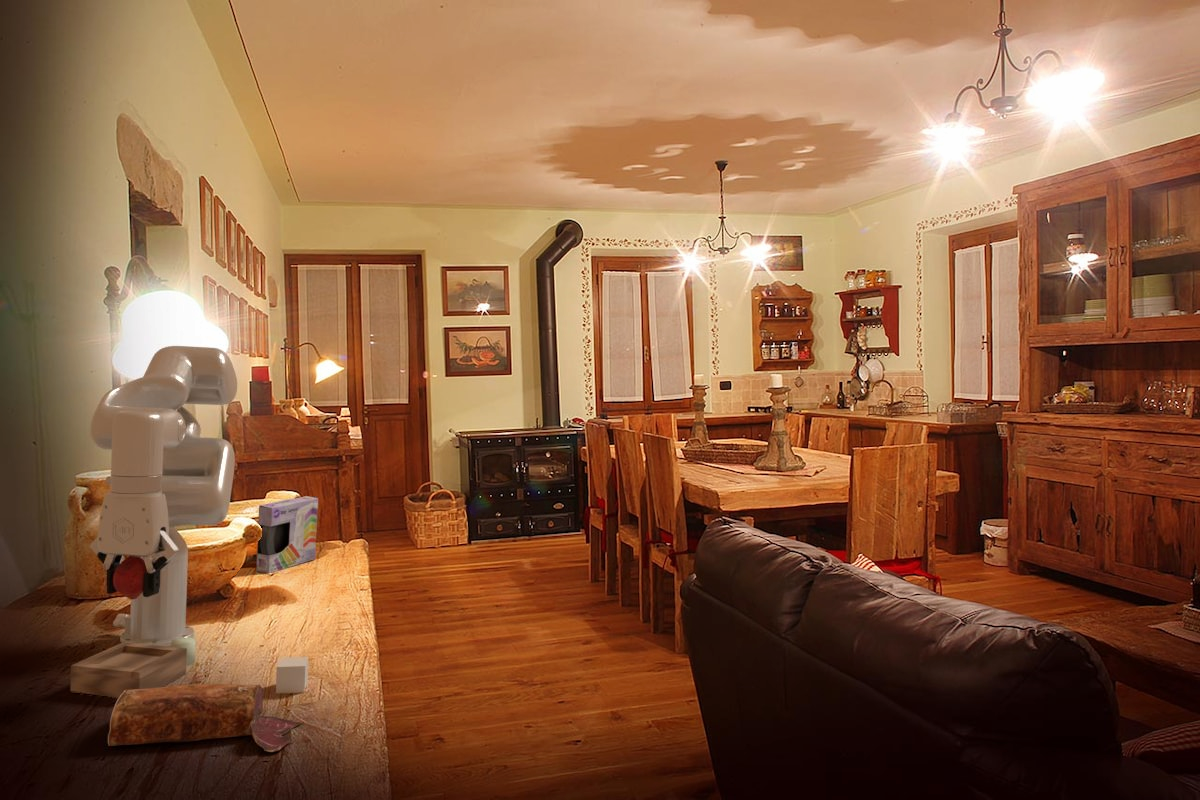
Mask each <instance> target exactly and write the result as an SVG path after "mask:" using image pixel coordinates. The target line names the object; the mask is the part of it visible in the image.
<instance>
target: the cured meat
mask: <svg viewBox="0 0 1200 800" xmlns="http://www.w3.org/2000/svg"><path fill="white" fill-rule="evenodd" d="M263 693H264V692H263V688H262V686H261V684H237V683H234V684H233V683H209V684H185V685H171V686H170V685H169V686H164V687H160V688H149V689H135V690H124V692H123V693H122V694H121V695H120V697H119V698H117V700H116V702H115V704H114V706H113V710H112V712H111V716H110V720H109V731H108V734H107V744H108V746H109V747H115V746H117V747H118V746H127V745H129V746H131V745H144V744H155V743H158V744H159V743H186V742H197V741H202V740H212V739H220V738H221V739H225V738H233V737H242V736H243V737H245V736H252V738H253V739H254V741H255V743H256V745H258V746H259V747H261V748H262V749H263V751H264V752H269V753H274V752H275V753H276V752H278V751H280V750H281V749H282V748H284V747H286V746H287V745H288V744H289V743H290V742H291V740H292V737H291V736H286V735H285V734H287V733H288V732H290V731H291V730H292V729H293V728H295V727H298V726H300V725H301V724H303V721H300V720H299V721H298V720H296V721H294V720H291V719H286V718H285V719H283V718H280V717H275V716H265V715H259V714H261V713H262V711H263V707H264V706H263V705H264V694H263ZM284 735H285V736H284Z"/></svg>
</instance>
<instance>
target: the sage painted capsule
mask: <svg viewBox="0 0 1200 800" xmlns="http://www.w3.org/2000/svg"><path fill="white" fill-rule="evenodd" d="M196 641H197V639H196V638H194V637H193V638H191V637H183V638H177V639H174V640H172V641H171V646H170V647H176V648H187V658H186V667H187V665H188V666H191V665H193V664H195V663H196V648H197V647H196V645H197V642H196Z"/></svg>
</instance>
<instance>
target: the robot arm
mask: <svg viewBox="0 0 1200 800" xmlns="http://www.w3.org/2000/svg"><path fill="white" fill-rule="evenodd" d="M234 368H235V367H234V366H233V363H232V360H231V358H230V356H229V355H228V354H227V353H226V352H225V351H224V350H222V349H220V348H217V347H207V346H202V347H201V346H191V345H190V346H187V345H171V346H165V347H162V348H161V349H159V350H157V351H156V352H155V353H154V355H153V356H152V358H151V360H150V362H149V364H148V366H147V369H146V371H145V372H144V375H143V376H142V377H139V378H136V379H133V380H131V381H128V382H126V383H124V384H121V385H118V386H115V387H114V388H112V389H109V391H107V392H106V393H105V394H104V395H103V397H101V400H100V401H99V403H98V404H97V406H96V409H95V410H94V412H93V415H92V418H91V421H90V427H89V428H90V429H89V431H90V438H91V440H92V442H93V443H94V444H95V445H96V446H97V447H98V448H100V449H102V450H108V451H111V456H110V457H111V458H110V459H111V460H110V463H111V464H110V476H107V477H106V478H105V484H106V485H109V487H110V489H109V492H106V493H105V495H104V498H103V500H102V504H101V508H100V514H99V518H98V519H99V520H98V527H97V537H96V538H95V539H94V540H93V541H92V542H91V543H90V545H89V547H90V549H91V550H92V552H94V554H95V555H96V556H97V558H98V559H99V561H100V562H101V563H102V564H103V565H102V567H103V569H104V570H106V582H105V583H106V594H108V595H112V594H115V593H119V592H118V591H117V590H116V589H115V587H114V584H113V576H114V572H115V570H116V568H117V567H118V566H119V565H120V564H121V562H122V561H124V557H125V556H126V557H129V556H135V557H140V558H142V559H144V562H145V565H146V568H147V571H148V572H146V573H144V576H143V593H142V594H141V595H139V596H138V597H137V598H136V599H134V600H133V599H132V600H131V599H130V614H127V613H118V614H117V615H116V617H115V619H114V620H113V622H112V625H113V627H115V628H116V627H117V628H123V629H124V632H123V633H122V634H121V635H120V638H119V639H120V640H119V643H120V642H121V643H123V642H126V643H136V644H146V645H156V646H166V647H171V641H172V640H174V639H177V638H183V637H191V638H194V637H195V630H194V628H193V627H192V626H190V625H186V620H187V619H186V618H187V617H186V616H187V594H188V592H187V591H188V590H187V589H188V587H187V586H188V561H189V560H188V558H189V548H188V545H187V542H186V540H185V538H184V537H183V536H182V535H181V534H180V531H178V530H177V528H176V527H182V526H215V525H219V524H221V523H222V522H224V521H225V520H226V518H227V515H228V513H229V509H230V504H231V503H230V502H231V496H232V490H233V482H234V481H233V480H234V474H235V464H236V461H235V460H236V459H235V456H236V455H235V450H234V448H233V445H232V444H231V442H229V441H228V440H226V439H224V438H219V437H202V436H201V433H202V430H201V428H202V427H201V425H200V423H199V421H198V420H197V419H196V417H195V416H193V414H192V413H191V412H190V411H189V410H188V409H186V408H185V407H183V406H184V405H210V406H211V405H213V406H225V405H229V404H231V403H232V402H233V401H234V399H235V397H236V396H237V393H238V391H237V390H238V378H237V374H236V372H235V369H234ZM200 436H201V437H200ZM121 643H120V644H121Z"/></svg>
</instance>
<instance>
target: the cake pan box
mask: <svg viewBox="0 0 1200 800" xmlns="http://www.w3.org/2000/svg"><path fill="white" fill-rule="evenodd" d="M318 509H319V497H313V496H307V495H305V496H302V497H300V496H299V497H297V498H290V499H289V498H287V499H283V500H278V501H274V502H269V503H264V504H259V505H258V524H259V525H260V526H261V528H262V537H261V539H260V540H259V541H258V540H257V548H256V550H257V551H256V570H255V571H256V572H258V573H264V574H271V573H274V572H278V571H282V570H284V569H285V570H286V569H288V568H291V567H294V566H297V565H301V564H303V563H304V564H305V563H307V562H310V561H313V560H315V559H316V547H317V531H318V530H317V528H318V527H317V526H318V514H319V513H318V511H319V510H318Z"/></svg>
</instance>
